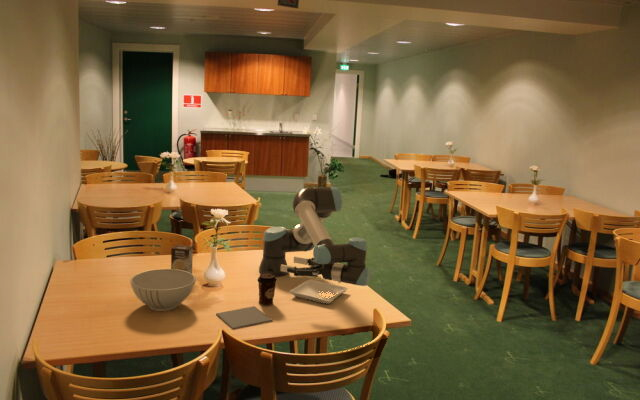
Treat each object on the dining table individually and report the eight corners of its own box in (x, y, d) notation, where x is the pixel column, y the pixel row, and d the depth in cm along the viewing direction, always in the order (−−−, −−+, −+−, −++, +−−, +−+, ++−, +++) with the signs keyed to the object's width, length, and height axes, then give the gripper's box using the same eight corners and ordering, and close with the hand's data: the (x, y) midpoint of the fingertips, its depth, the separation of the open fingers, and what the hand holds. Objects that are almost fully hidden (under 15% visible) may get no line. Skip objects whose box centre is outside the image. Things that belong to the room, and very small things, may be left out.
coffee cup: (278, 301, 253) (280, 274, 251) (271, 308, 246) (272, 279, 243) (261, 298, 256) (262, 271, 253) (253, 304, 248) (254, 276, 246)
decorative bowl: (136, 322, 224) (136, 293, 221) (125, 298, 247) (125, 272, 245) (202, 313, 236) (203, 285, 234) (186, 291, 259) (186, 266, 257)
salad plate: (348, 293, 270) (348, 286, 269) (330, 308, 251) (330, 300, 250) (308, 285, 278) (308, 278, 277) (288, 298, 259) (288, 291, 258)
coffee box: (170, 279, 273) (170, 248, 270) (174, 275, 279) (175, 244, 276) (188, 281, 272) (188, 249, 269) (192, 277, 278) (193, 246, 275)
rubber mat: (254, 307, 245) (254, 306, 245) (272, 320, 232) (272, 319, 232) (216, 314, 235) (216, 313, 235) (232, 329, 222) (232, 327, 222)
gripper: (322, 289, 225) (274, 280, 233) (342, 271, 248) (298, 264, 256) (323, 271, 224) (275, 262, 231) (343, 255, 247) (299, 248, 254)
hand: (287, 263), depth 244 cm, fingers open, 13 cm apart
